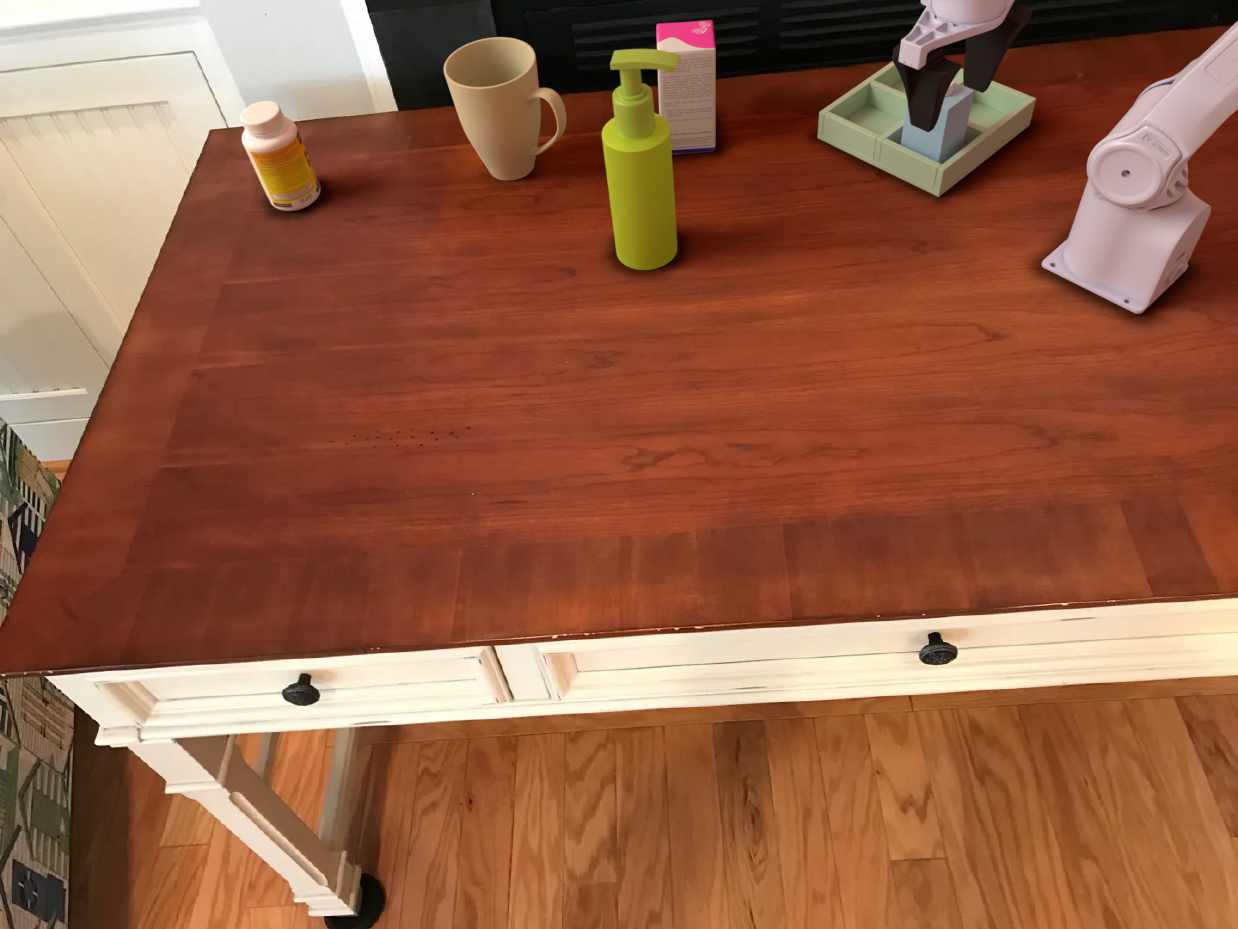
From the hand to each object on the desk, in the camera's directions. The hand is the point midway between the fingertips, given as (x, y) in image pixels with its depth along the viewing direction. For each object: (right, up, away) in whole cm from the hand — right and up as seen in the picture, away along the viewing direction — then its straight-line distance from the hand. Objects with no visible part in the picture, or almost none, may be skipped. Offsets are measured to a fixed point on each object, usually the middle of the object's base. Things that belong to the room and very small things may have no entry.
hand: (948, 106), depth 87 cm
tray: (+2, +3, +14) cm, 15 cm away
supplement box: (-22, +3, +18) cm, 28 cm away
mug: (-40, 0, +17) cm, 43 cm away
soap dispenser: (-26, -11, +7) cm, 29 cm away
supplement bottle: (-64, -3, +18) cm, 66 cm away
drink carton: (+2, -1, +11) cm, 11 cm away
